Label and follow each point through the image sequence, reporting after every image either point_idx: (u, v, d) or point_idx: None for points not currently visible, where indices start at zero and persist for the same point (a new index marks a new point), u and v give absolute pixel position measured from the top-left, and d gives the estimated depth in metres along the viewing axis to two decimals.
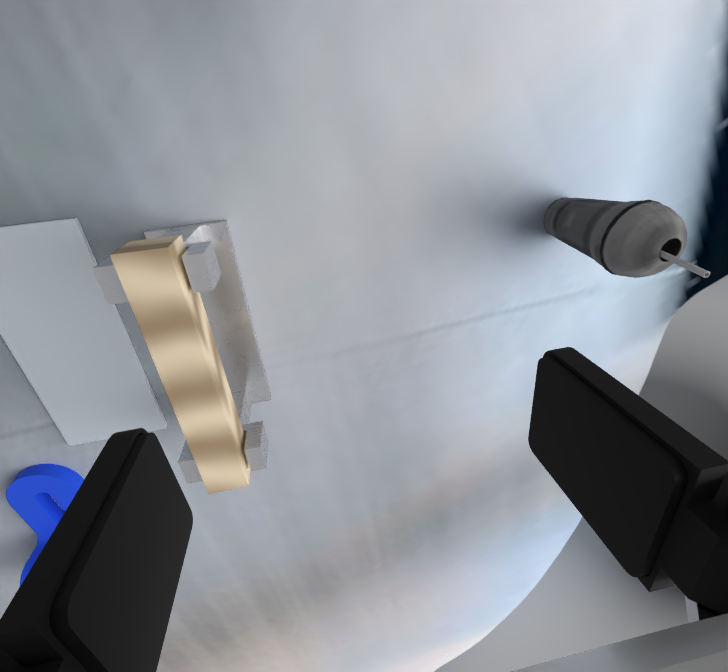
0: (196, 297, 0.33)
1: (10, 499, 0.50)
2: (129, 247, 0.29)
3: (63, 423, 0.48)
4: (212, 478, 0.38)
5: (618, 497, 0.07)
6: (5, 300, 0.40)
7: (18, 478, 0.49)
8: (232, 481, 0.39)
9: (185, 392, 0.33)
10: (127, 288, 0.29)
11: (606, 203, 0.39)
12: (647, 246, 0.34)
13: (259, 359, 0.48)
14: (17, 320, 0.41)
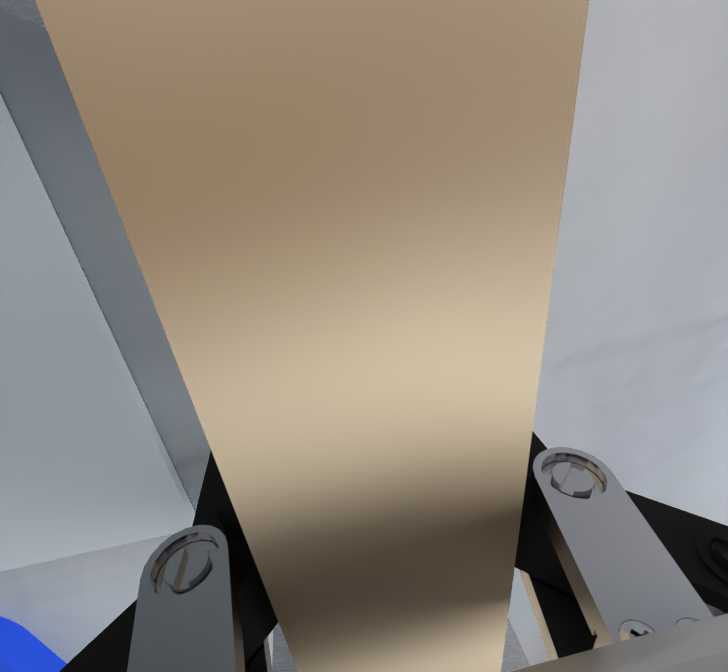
0: None
1: None
2: None
3: None
4: None
5: None
6: None
7: None
8: None
9: (370, 590, 0.06)
10: None
11: None
12: None
13: None
14: None
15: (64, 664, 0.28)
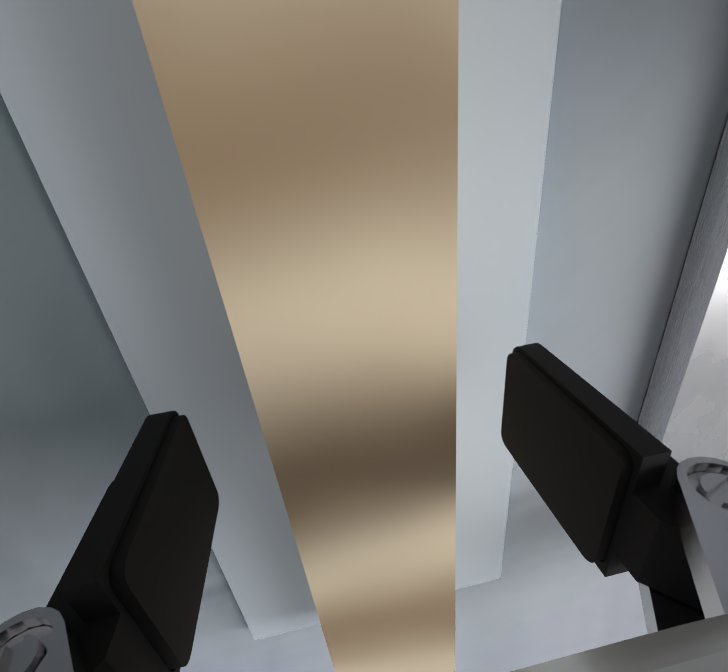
0: None
1: None
2: None
3: (255, 593, 0.16)
4: None
5: (575, 486, 0.08)
6: (148, 165, 0.09)
7: None
8: None
9: (347, 469, 0.08)
10: None
11: None
12: None
13: None
14: (183, 265, 0.10)
15: None
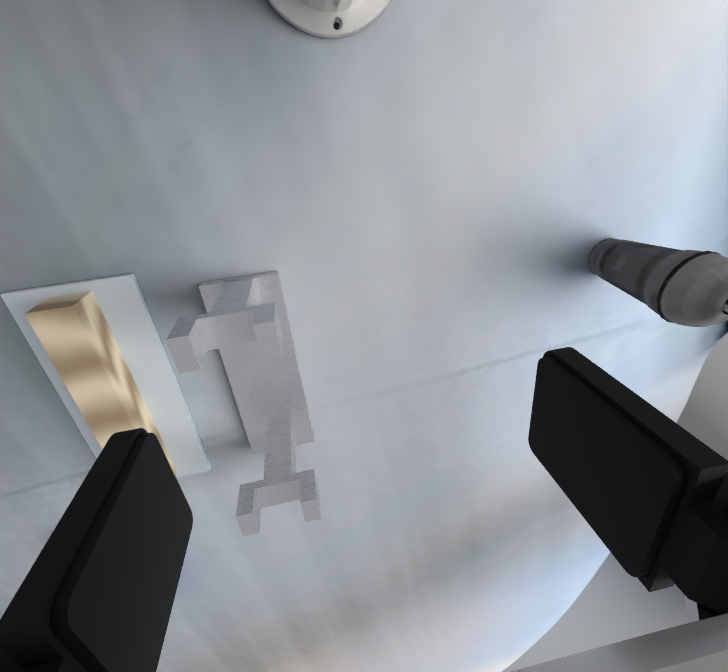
0: (108, 341, 0.39)
1: None
2: (44, 305, 0.36)
3: None
4: None
5: (618, 498, 0.07)
6: None
7: None
8: None
9: (102, 419, 0.40)
10: (42, 338, 0.35)
11: (659, 250, 0.39)
12: (710, 300, 0.34)
13: (305, 402, 0.48)
14: None
15: None
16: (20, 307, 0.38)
